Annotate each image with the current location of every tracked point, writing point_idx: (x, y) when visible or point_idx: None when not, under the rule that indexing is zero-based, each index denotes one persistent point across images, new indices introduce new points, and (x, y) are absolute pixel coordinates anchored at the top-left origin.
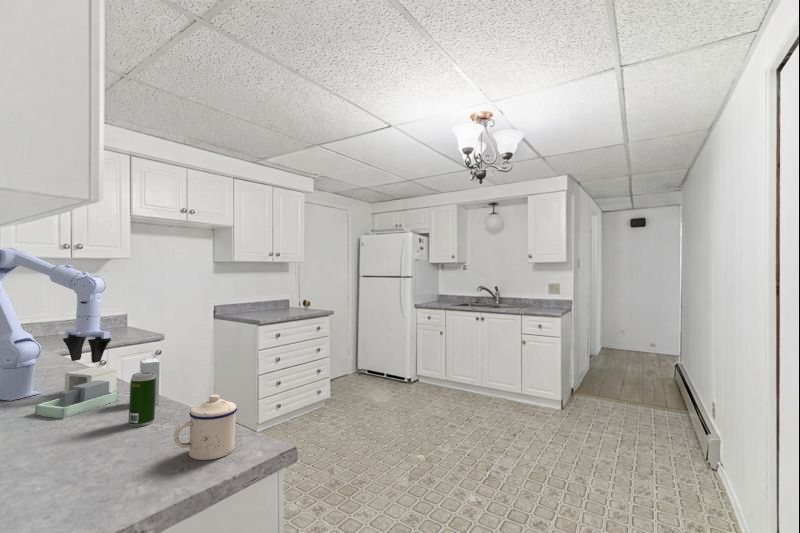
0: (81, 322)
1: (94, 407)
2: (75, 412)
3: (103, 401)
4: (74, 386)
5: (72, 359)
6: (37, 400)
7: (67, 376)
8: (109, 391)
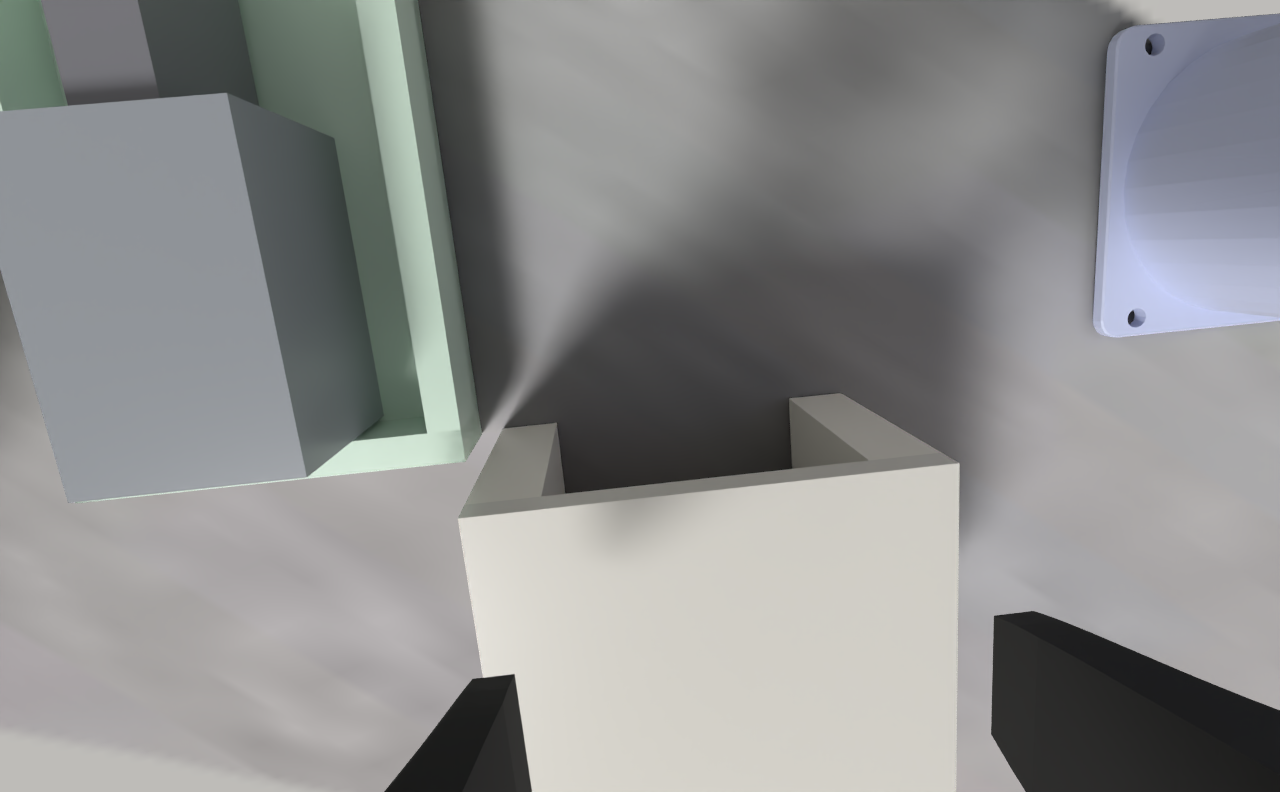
0: None
1: None
2: None
3: None
4: (189, 107)
5: (1029, 624)
6: (896, 169)
7: (895, 451)
8: None
